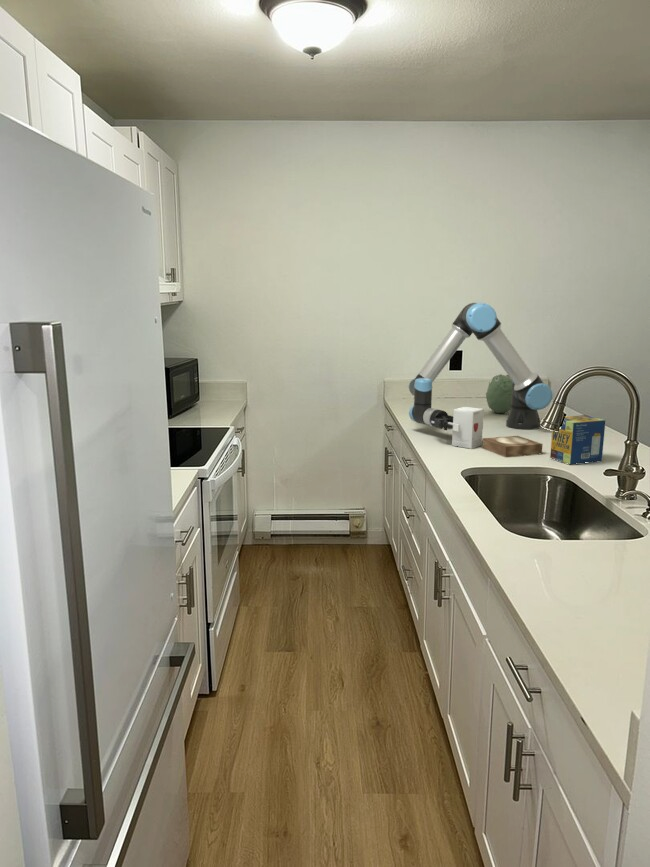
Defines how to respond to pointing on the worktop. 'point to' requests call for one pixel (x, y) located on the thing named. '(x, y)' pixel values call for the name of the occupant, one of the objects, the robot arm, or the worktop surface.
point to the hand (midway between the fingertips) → (470, 426)
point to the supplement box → (468, 427)
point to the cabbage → (500, 394)
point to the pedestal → (512, 446)
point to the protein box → (578, 440)
